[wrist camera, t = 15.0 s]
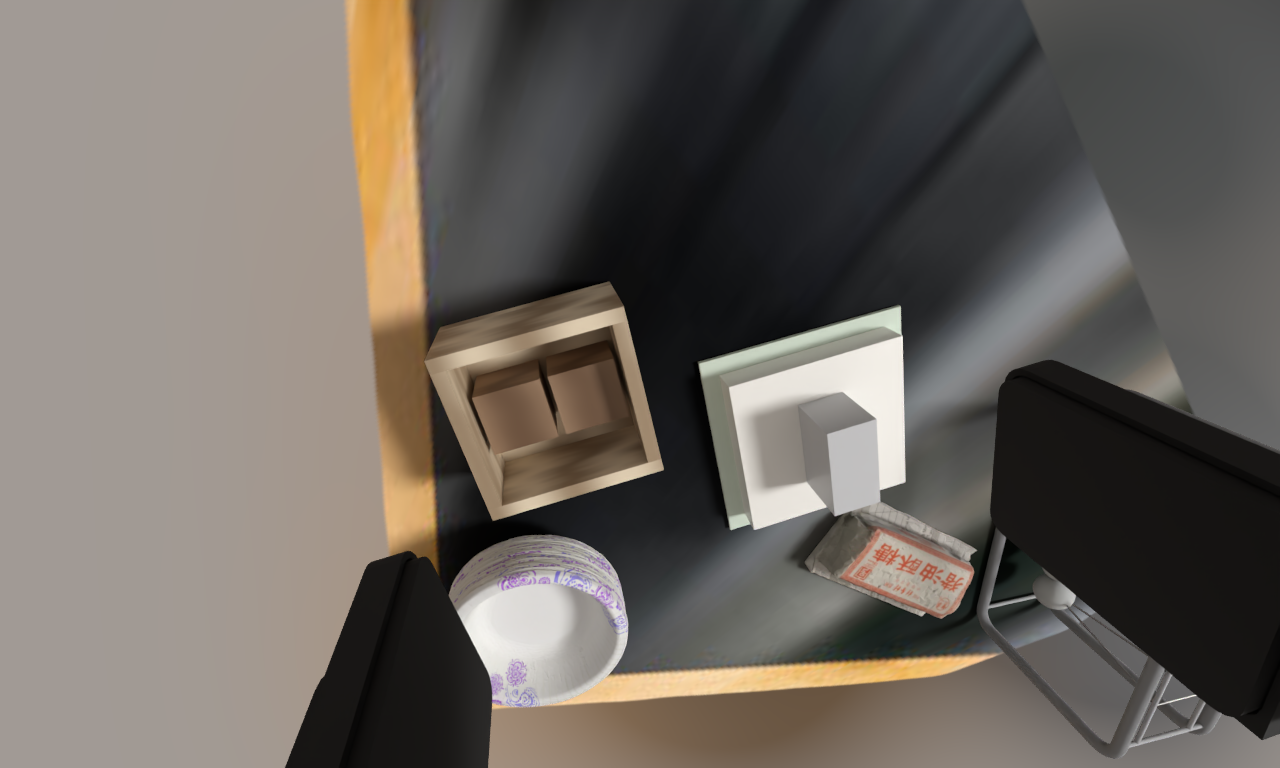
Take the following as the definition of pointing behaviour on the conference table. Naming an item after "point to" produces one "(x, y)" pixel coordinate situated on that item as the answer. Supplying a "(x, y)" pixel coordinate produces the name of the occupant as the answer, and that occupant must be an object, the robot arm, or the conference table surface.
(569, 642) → the paper bowls
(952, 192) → the conference table surface
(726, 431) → the mat
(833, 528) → the packaged product
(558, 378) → the box
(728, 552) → the conference table surface
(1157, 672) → the newton's cradle
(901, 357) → the lid
